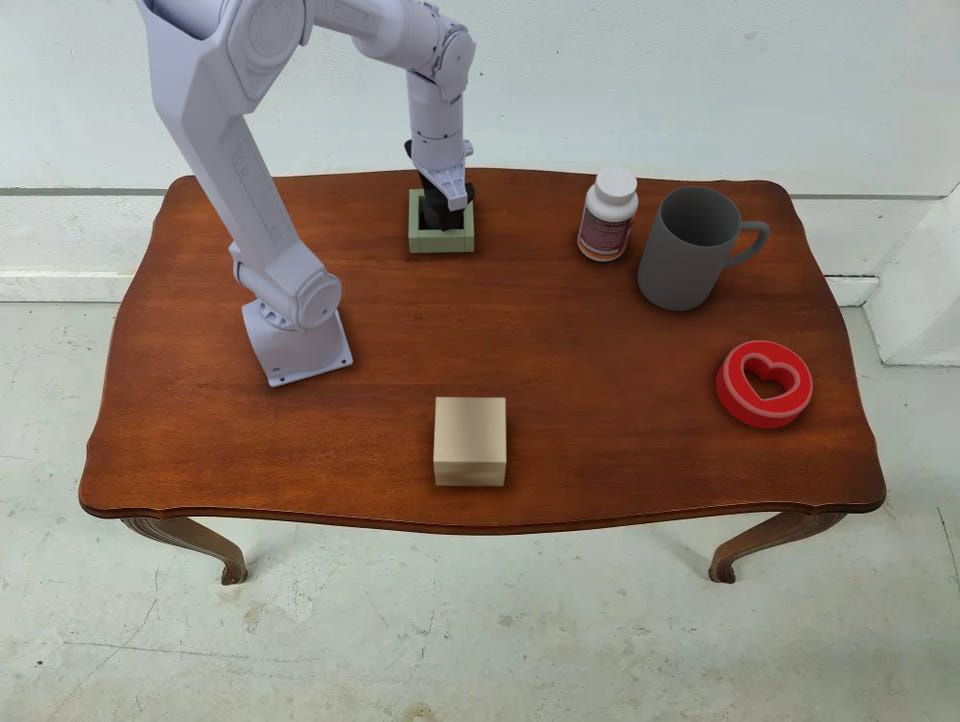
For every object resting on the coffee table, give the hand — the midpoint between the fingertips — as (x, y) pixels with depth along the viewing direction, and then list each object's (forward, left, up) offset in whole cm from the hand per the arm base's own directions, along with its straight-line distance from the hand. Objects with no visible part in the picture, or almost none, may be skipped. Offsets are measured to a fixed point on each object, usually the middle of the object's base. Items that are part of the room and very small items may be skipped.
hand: (440, 208), depth 88 cm
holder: (0, 0, -4) cm, 4 cm away
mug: (+26, -18, -4) cm, 32 cm away
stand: (-7, -31, -4) cm, 32 cm away
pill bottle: (+18, -9, -4) cm, 21 cm away
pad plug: (0, 0, -4) cm, 4 cm away
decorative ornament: (+26, -34, -4) cm, 43 cm away
